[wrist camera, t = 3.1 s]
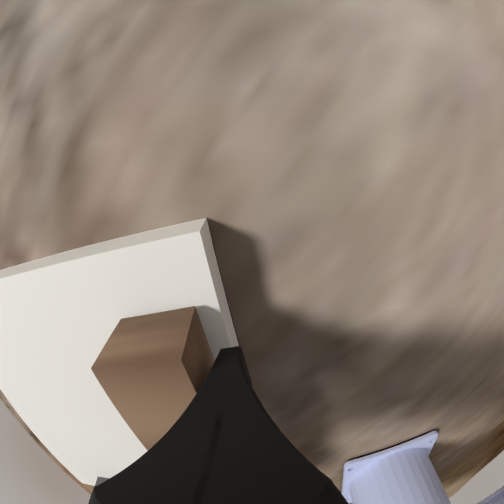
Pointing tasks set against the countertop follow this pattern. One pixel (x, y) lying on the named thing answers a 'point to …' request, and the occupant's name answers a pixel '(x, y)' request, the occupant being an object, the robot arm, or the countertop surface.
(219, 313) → the stool seat
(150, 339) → the folding leg
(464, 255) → the countertop surface
